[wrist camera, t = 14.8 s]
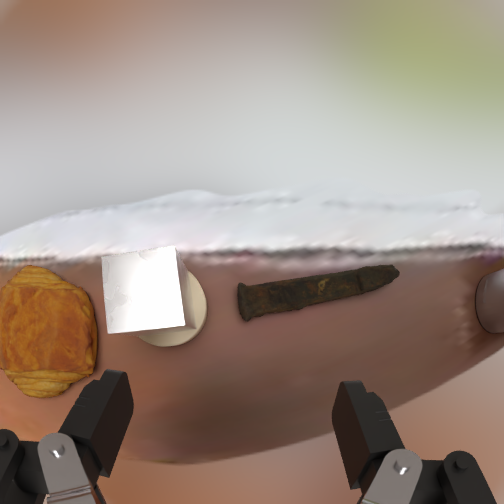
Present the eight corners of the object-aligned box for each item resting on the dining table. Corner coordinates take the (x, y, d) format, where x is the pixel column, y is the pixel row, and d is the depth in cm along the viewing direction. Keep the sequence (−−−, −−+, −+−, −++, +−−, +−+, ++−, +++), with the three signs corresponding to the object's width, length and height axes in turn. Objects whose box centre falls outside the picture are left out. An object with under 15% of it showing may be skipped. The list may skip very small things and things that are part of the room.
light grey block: (188, 272, 30) (174, 245, 21) (196, 329, 29) (184, 324, 20) (134, 280, 29) (101, 256, 21) (141, 336, 28) (108, 333, 19)
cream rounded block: (219, 291, 35) (218, 277, 27) (189, 357, 32) (179, 363, 25) (155, 262, 35) (138, 240, 27) (125, 325, 33) (99, 320, 25)
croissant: (18, 378, 31) (-18, 391, 23) (18, 264, 33) (-20, 257, 25) (108, 402, 32) (80, 425, 24) (109, 272, 34) (77, 266, 26)
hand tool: (239, 322, 34) (242, 320, 30) (235, 286, 35) (237, 279, 31) (392, 299, 36) (412, 293, 32) (386, 268, 37) (405, 259, 33)
